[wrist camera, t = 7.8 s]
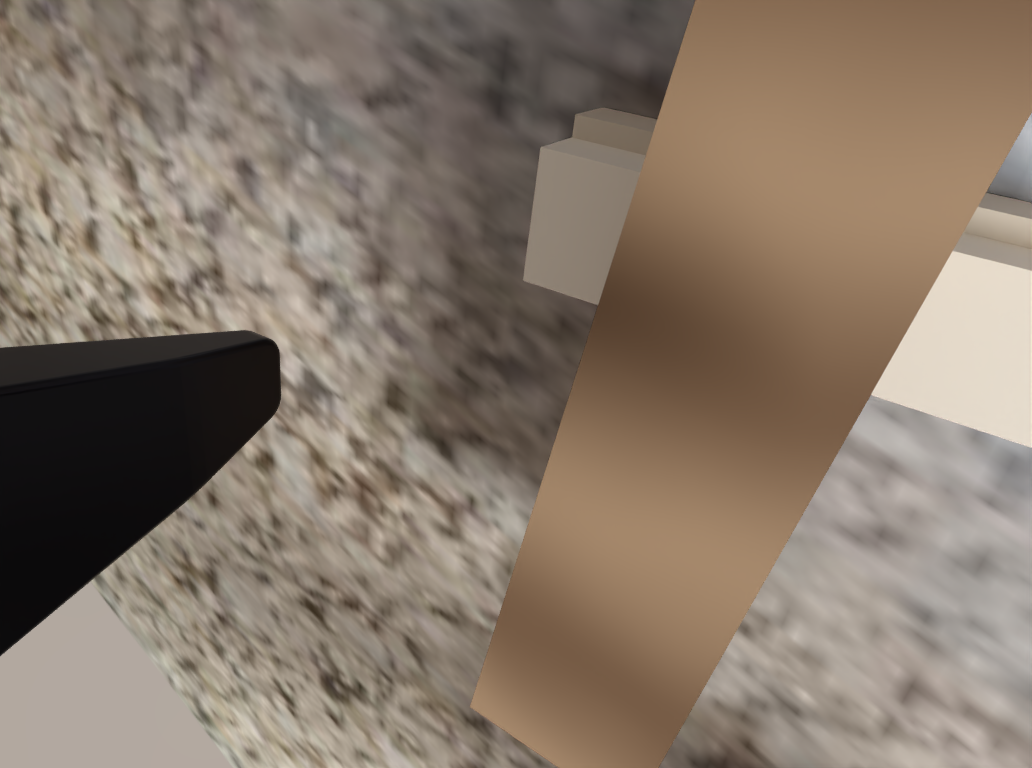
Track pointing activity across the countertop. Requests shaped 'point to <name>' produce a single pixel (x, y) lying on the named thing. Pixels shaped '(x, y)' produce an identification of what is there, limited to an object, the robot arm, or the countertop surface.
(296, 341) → the countertop surface
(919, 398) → the stepped block
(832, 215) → the walnut bar
